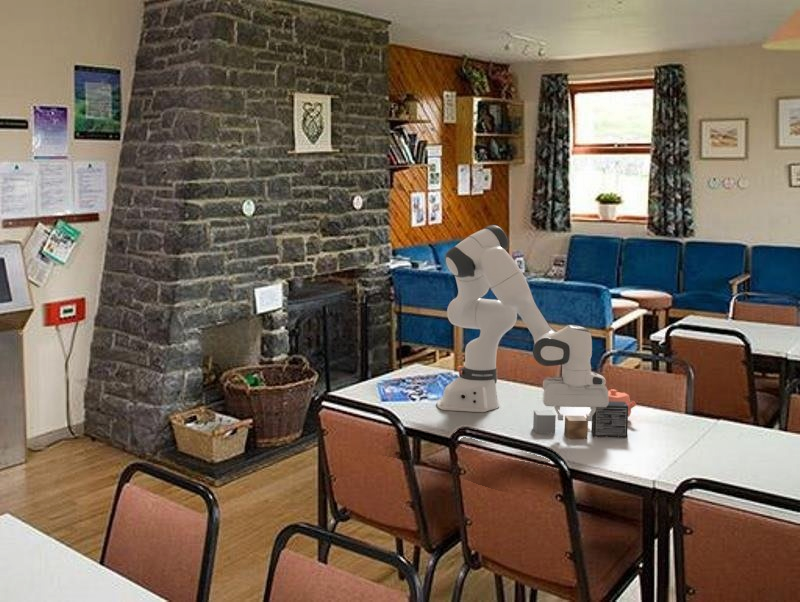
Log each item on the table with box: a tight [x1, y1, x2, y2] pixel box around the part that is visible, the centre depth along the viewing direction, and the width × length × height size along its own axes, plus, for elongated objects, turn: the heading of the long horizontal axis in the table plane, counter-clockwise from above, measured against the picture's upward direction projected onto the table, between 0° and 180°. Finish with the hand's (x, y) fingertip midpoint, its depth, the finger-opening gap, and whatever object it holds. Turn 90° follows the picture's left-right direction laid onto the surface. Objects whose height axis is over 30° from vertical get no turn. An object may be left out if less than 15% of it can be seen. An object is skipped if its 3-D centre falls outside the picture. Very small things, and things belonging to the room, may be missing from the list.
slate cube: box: [532, 409, 556, 434], centre depth 260 cm, size 6×6×6 cm
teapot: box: [608, 388, 637, 418], centre depth 275 cm, size 14×12×10 cm
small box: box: [590, 401, 629, 439], centre depth 256 cm, size 11×6×10 cm, turn 85°
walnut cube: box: [563, 415, 589, 440], centre depth 254 cm, size 6×6×6 cm
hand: (574, 420), depth 253 cm, fingers open, 8 cm apart
